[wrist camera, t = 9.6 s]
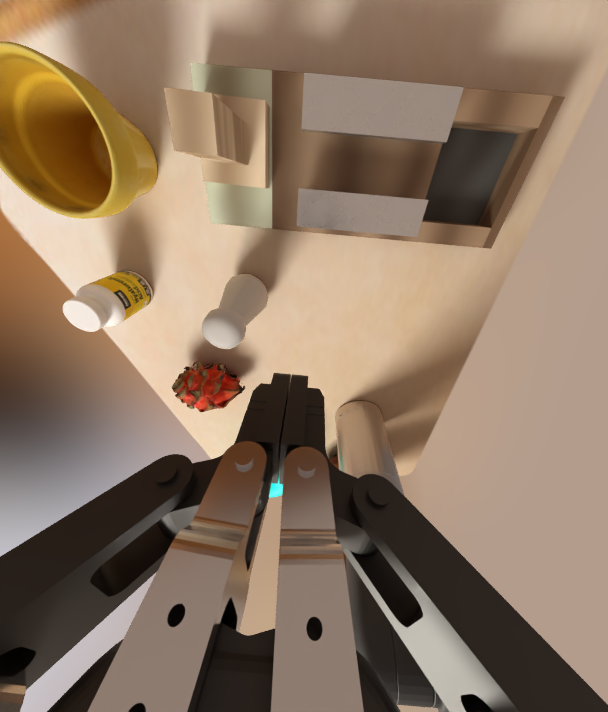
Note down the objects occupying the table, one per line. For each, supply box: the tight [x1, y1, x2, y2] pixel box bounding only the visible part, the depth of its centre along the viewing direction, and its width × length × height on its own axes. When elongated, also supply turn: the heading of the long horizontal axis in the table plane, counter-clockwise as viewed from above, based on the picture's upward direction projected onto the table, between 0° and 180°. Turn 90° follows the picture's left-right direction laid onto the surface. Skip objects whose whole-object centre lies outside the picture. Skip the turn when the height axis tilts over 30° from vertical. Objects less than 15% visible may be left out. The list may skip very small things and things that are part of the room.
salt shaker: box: [202, 274, 268, 349], centre depth 29 cm, size 6×6×13 cm
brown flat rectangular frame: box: [190, 63, 565, 248], centre depth 25 cm, size 32×12×3 cm, turn 86°
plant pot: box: [0, 42, 157, 218], centre depth 23 cm, size 10×10×10 cm
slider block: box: [164, 87, 270, 188], centre depth 19 cm, size 6×6×10 cm
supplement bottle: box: [63, 271, 153, 332], centre depth 31 cm, size 5×5×10 cm
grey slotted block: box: [297, 73, 464, 237], centre depth 22 cm, size 12×10×4 cm
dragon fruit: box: [172, 362, 245, 412], centre depth 41 cm, size 8×8×12 cm
